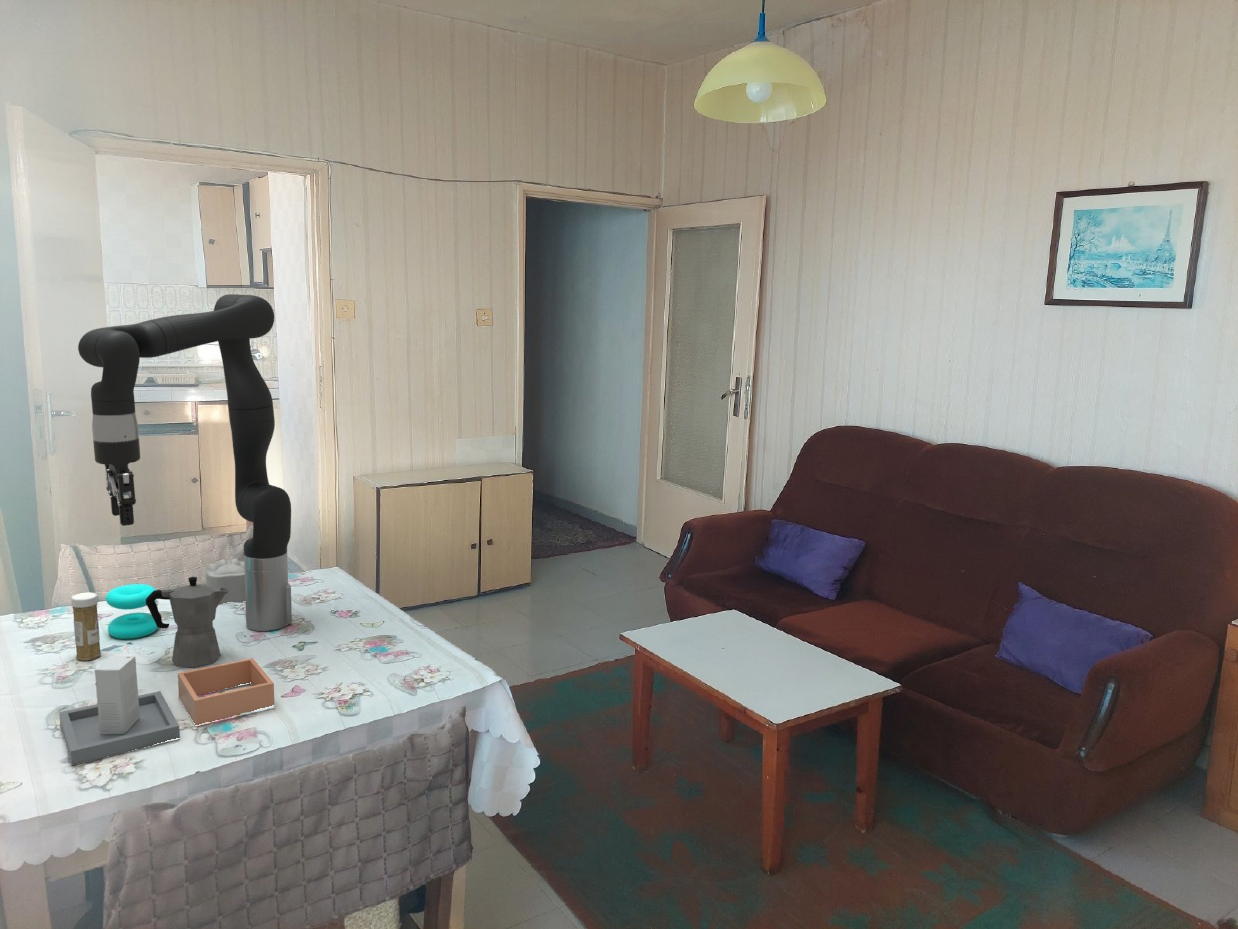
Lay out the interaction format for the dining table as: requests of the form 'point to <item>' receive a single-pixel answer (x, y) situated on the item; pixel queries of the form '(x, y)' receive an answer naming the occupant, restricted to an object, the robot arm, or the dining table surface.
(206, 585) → the coffeepot
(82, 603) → the sprinkles bottle
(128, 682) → the skincare box
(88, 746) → the grey tray
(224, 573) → the lumpy-topped squat cylinder
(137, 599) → the donuts
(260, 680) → the orange square frame
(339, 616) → the dining table surface
